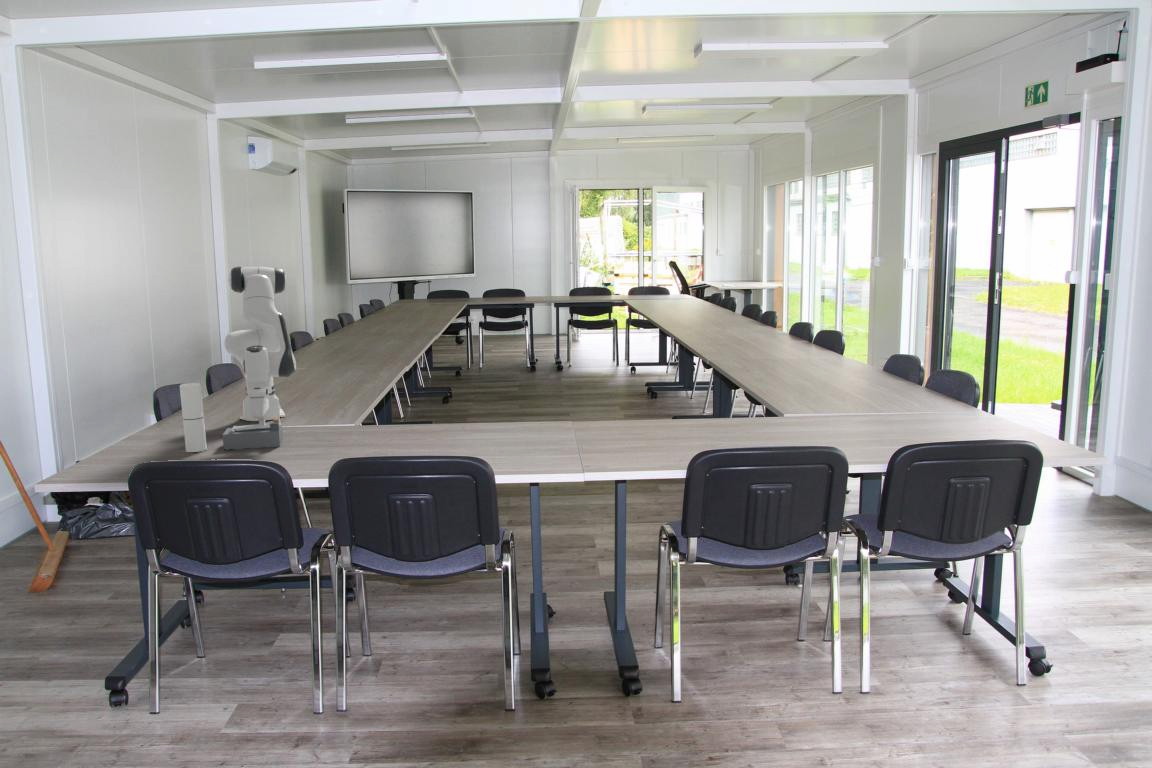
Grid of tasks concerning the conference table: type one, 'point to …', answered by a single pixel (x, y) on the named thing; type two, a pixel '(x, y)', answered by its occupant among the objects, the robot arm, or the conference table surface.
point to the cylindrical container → (193, 417)
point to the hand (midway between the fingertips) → (262, 424)
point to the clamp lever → (255, 426)
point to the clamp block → (253, 437)
